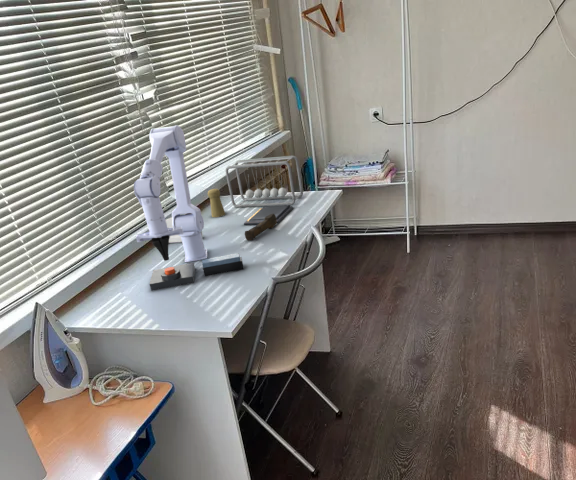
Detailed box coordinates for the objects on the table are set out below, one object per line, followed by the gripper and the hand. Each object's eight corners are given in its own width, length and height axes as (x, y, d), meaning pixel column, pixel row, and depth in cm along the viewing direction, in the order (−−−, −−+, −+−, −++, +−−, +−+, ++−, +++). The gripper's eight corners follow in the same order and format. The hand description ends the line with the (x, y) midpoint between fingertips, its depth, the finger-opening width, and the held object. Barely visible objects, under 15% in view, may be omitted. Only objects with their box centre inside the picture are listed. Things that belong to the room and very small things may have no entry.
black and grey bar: (205, 272, 203) (202, 259, 201) (243, 265, 203) (240, 252, 201) (204, 276, 199) (201, 263, 197) (243, 269, 199) (241, 256, 197)
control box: (155, 276, 207) (151, 265, 205) (195, 269, 207) (192, 258, 205) (151, 291, 196) (148, 279, 194) (193, 283, 196) (191, 271, 194)
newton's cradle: (232, 208, 266) (224, 166, 257) (242, 200, 274) (234, 160, 265) (295, 205, 255) (289, 161, 245) (304, 197, 262) (298, 154, 253)
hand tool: (253, 241, 222) (251, 229, 220) (245, 240, 225) (243, 228, 222) (282, 224, 235) (280, 212, 233) (274, 223, 237) (272, 212, 235)
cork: (224, 216, 257) (219, 190, 251) (210, 218, 258) (204, 192, 252) (226, 212, 262) (220, 186, 257) (212, 214, 263) (206, 188, 257)
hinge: (160, 243, 238) (157, 216, 236) (166, 243, 243) (164, 217, 240) (198, 241, 233) (196, 214, 231) (204, 240, 237) (201, 214, 235)
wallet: (276, 219, 235) (241, 220, 241) (277, 224, 236) (242, 225, 242) (294, 203, 250) (260, 205, 256) (294, 207, 251) (261, 209, 257)
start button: (166, 272, 198) (164, 268, 197) (175, 270, 198) (174, 266, 197) (165, 276, 195) (164, 271, 195) (175, 274, 195) (173, 269, 195)
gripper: (130, 225, 184) (143, 267, 191) (177, 217, 184) (188, 259, 191) (133, 219, 190) (145, 260, 197) (178, 210, 190) (189, 252, 197)
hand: (166, 259), depth 194 cm, fingers closed
